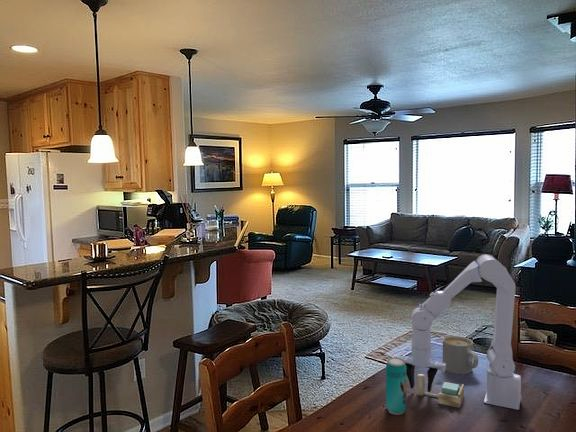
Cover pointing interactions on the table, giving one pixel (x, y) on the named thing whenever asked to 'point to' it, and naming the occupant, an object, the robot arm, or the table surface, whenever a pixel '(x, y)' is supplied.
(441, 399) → the wooden bracket
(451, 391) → the tethered block
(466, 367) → the coffee mug
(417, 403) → the table surface
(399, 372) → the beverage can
